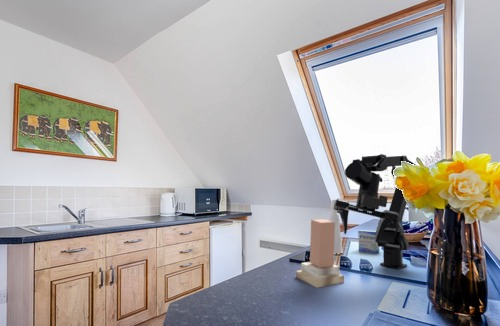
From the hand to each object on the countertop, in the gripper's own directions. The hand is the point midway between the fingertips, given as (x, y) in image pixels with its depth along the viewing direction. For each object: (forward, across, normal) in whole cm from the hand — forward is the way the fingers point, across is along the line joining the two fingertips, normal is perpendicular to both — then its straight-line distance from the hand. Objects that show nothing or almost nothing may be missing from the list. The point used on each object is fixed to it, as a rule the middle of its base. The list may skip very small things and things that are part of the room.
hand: (360, 238), depth 89 cm
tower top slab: (+13, -10, 0) cm, 16 cm away
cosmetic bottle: (+4, -2, +34) cm, 34 cm away
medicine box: (-1, +11, +38) cm, 40 cm away
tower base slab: (+16, -9, 0) cm, 18 cm away
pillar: (+11, -10, -2) cm, 15 cm away
